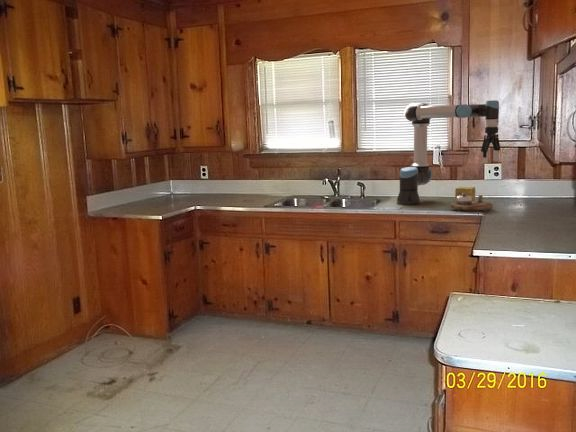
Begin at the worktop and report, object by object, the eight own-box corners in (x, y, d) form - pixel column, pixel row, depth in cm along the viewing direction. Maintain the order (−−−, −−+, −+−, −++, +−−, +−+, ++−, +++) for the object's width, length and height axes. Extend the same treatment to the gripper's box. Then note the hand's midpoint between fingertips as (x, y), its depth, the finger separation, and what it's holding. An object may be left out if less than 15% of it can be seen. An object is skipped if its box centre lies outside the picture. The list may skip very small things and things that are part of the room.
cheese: (470, 204, 353) (471, 188, 351) (454, 203, 359) (454, 188, 357) (475, 201, 362) (475, 186, 360) (458, 200, 368) (459, 186, 366)
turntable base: (455, 210, 332) (455, 207, 332) (466, 207, 342) (466, 204, 341) (476, 212, 322) (477, 209, 322) (487, 209, 332) (488, 206, 331)
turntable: (443, 207, 332) (443, 198, 331) (463, 202, 348) (463, 193, 347) (481, 211, 315) (481, 202, 314) (499, 205, 332) (500, 196, 331)
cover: (453, 203, 335) (453, 194, 334) (460, 202, 341) (461, 192, 340) (467, 205, 329) (467, 195, 327) (474, 203, 335) (474, 193, 334)
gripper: (487, 127, 319) (486, 164, 323) (507, 125, 336) (505, 160, 340) (475, 127, 324) (474, 163, 328) (495, 126, 341) (493, 160, 345)
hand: (490, 162), depth 334 cm, fingers open, 13 cm apart
